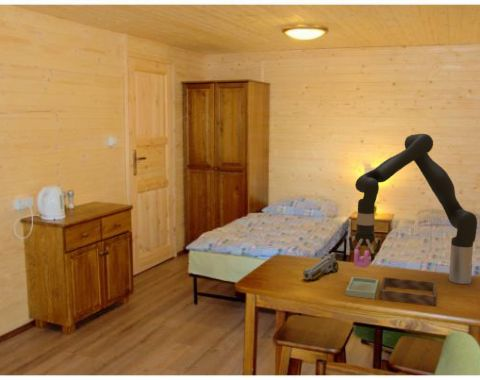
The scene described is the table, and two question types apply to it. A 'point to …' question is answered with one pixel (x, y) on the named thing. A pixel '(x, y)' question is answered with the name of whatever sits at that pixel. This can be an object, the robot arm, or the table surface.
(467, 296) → the table surface
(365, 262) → the bracket
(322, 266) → the toy
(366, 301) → the table surface
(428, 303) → the crate
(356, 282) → the tray
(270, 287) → the table surface
